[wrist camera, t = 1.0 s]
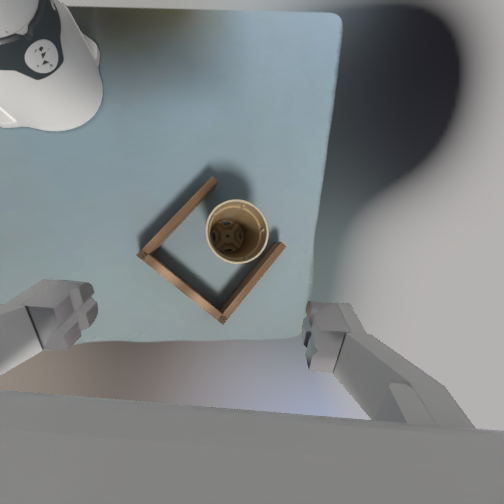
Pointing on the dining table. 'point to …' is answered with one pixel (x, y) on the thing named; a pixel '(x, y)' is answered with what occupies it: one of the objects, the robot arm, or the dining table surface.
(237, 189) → the dining table surface
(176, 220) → the wooden u-shaped frame
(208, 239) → the flower pot
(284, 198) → the dining table surface
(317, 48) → the dining table surface
